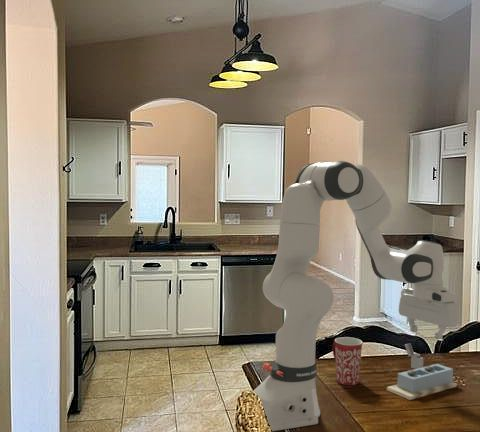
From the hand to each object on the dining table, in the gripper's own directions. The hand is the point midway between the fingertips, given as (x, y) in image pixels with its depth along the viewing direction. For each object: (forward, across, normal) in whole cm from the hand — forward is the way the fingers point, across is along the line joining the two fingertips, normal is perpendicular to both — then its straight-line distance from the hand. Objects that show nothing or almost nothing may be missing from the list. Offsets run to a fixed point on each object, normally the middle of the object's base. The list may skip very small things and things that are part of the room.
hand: (426, 335), depth 161 cm
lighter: (+17, -15, +13) cm, 26 cm away
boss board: (+17, 0, -1) cm, 17 cm away
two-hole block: (+16, 0, 0) cm, 16 cm away
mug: (+17, -18, -17) cm, 30 cm away
